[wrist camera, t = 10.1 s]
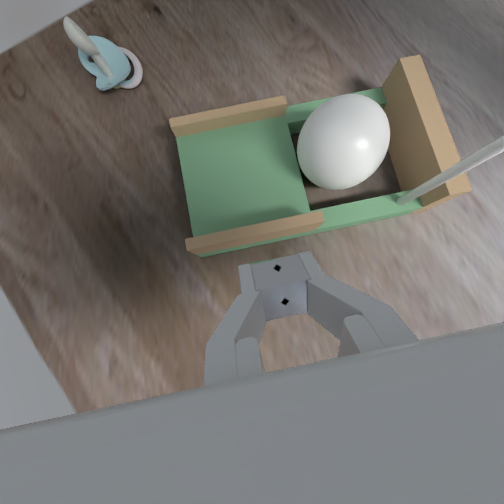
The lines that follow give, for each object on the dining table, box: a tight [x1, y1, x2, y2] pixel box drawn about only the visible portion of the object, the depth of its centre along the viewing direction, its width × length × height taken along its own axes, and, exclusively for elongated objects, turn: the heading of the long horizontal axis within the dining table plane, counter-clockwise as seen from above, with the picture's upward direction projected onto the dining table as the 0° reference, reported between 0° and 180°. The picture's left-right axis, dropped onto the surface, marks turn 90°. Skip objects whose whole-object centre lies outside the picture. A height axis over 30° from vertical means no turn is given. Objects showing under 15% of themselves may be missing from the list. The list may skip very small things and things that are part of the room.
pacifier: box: [63, 16, 143, 91], centre depth 24 cm, size 7×6×6 cm
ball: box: [297, 94, 390, 190], centre depth 20 cm, size 8×8×8 cm
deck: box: [169, 55, 504, 257], centre depth 14 cm, size 25×14×20 cm, turn 102°
